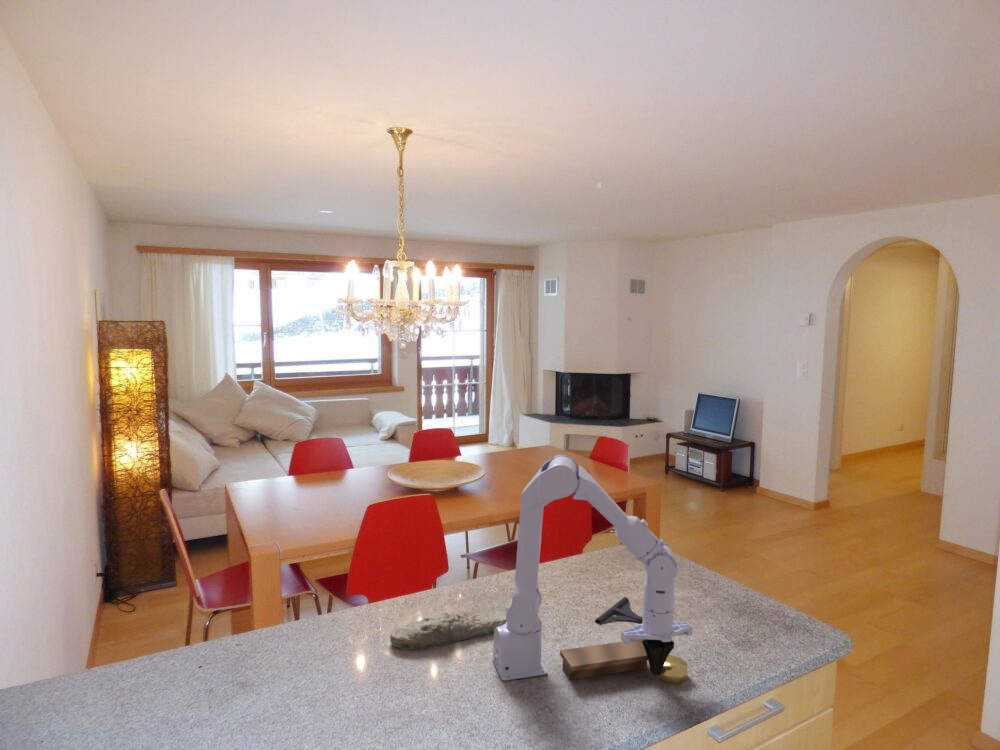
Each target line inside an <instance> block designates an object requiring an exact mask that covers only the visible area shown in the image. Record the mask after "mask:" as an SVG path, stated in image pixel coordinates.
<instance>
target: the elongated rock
mask: <svg viewBox="0 0 1000 750" xmlns="http://www.w3.org/2000/svg"><path fill="white" fill-rule="evenodd" d="M509 605H510V604H505V605H501V606H494V607H488V608H482V609H480V610H479V609H478V610H473V611H470V612H458V613H457V612H456V613H455V612H449V613H447V612H443V613H441V614H438V615H434V616H431V617H423V619H421V620H418V621H415V622H412V623H409V624H406V625H402V626H401V627H398V628H396V629H394V630H392V632H391V633H390V636H389V640H390V642H391V643H390V644H391V645H392V646H393V647H395V648H398V649H400V650H402V651H404V650H420V649H421V650H423V649H424V650H426V649H429V648H434V647H442V648H443V647H446V646H447V645H452V644H454V643H455V642H460V641H464V640H469V639H472V638H474V637H475V636H478V635H482V636H483V635H490V634H492V633H494V629H495V628H496V627H499V626H502V625H504V624H505V623H506V613H507V611H508V609H509Z"/></svg>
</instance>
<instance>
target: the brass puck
mask: <svg viewBox="0 0 1000 750" xmlns="http://www.w3.org/2000/svg"><path fill="white" fill-rule="evenodd" d="M656 677H657V678H658V679H659V680H661V681H662V682H664V683H667V684H672V685H678V684H679V685H680V684H684V683H685V682H686V681H687V679H688V663H687V662H686V660H684V659H683V658H681V657H679V656H677V655H672V654H669V655H668V657H667V659H666V661H665V663H664V666H663V669H662V672H661V675H659V676H656Z"/></svg>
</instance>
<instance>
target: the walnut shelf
mask: <svg viewBox="0 0 1000 750" xmlns="http://www.w3.org/2000/svg"><path fill="white" fill-rule="evenodd" d="M559 655H560V657H561V659H562V671H563V673H564V674H565V676H566V677H567V678H568V680H576V679H583V678H589V677H596V676H602V675H608V674H615V673H622V672H629V671H634V670H641V669H647V668H648V657H647V654H646V651H645V648H644V646H643V644H642V642H641V641H635V642H630V644H628V645H625V644H624V643H623V641H618V642H617V641H616V642H610V643H603V644H594V645H590V646H589V645H587V646H582V647H574V648H573V647H572V648H568V649H567V648H566V649H560V651H559Z"/></svg>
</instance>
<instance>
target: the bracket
mask: <svg viewBox="0 0 1000 750" xmlns="http://www.w3.org/2000/svg"><path fill="white" fill-rule="evenodd" d="M630 606H631V605H630V600H629V598H628V597H626V596H624V597H622V598H621V599H620V600H619V601H618V602H616V603H614V605H612V606H611V607H609V609H607V610H606V611H604V612H603V613H602V614H600V615H599V616H598V617H597V618H595V620H594V623H598V622H599V624H600V625H603V624H602V623H605V624H608V623H607V622H609V623H612V621H615V622H632V621H633V622H634V623H640V624H642V621H643V616H640V615H638V614H636V613H635V612H634V611H633V610H632V609H631V607H630ZM621 609H622V610H621ZM616 614H617V615H616ZM613 615H614V616H613ZM615 615H616V616H615ZM597 621H598V622H597ZM633 622H632V623H633Z"/></svg>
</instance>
